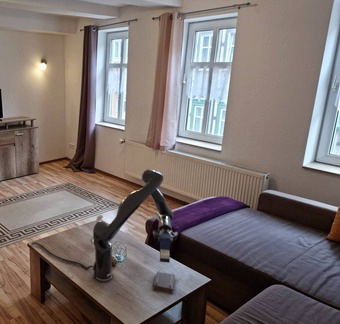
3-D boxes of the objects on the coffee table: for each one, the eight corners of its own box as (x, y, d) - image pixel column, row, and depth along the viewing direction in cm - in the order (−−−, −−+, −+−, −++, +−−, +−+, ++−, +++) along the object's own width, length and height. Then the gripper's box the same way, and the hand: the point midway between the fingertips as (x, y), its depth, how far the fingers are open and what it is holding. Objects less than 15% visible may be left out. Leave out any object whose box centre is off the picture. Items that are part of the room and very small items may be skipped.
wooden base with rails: (153, 290, 177) (153, 283, 176) (156, 276, 189) (156, 269, 188) (172, 293, 174) (172, 286, 173) (174, 279, 186) (175, 272, 185)
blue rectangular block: (159, 250, 187) (160, 233, 184) (169, 251, 186) (170, 234, 183) (159, 261, 176) (160, 243, 173) (169, 262, 175) (170, 244, 172)
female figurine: (103, 250, 216) (103, 222, 210) (88, 240, 228) (87, 214, 222) (115, 244, 222) (116, 217, 217) (100, 235, 234) (100, 209, 229)
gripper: (152, 220, 195) (152, 234, 179) (178, 222, 192) (179, 236, 176) (152, 231, 197) (151, 246, 181) (177, 234, 195) (178, 249, 179)
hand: (165, 241), depth 179 cm, fingers closed on blue rectangular block, 5 cm apart
